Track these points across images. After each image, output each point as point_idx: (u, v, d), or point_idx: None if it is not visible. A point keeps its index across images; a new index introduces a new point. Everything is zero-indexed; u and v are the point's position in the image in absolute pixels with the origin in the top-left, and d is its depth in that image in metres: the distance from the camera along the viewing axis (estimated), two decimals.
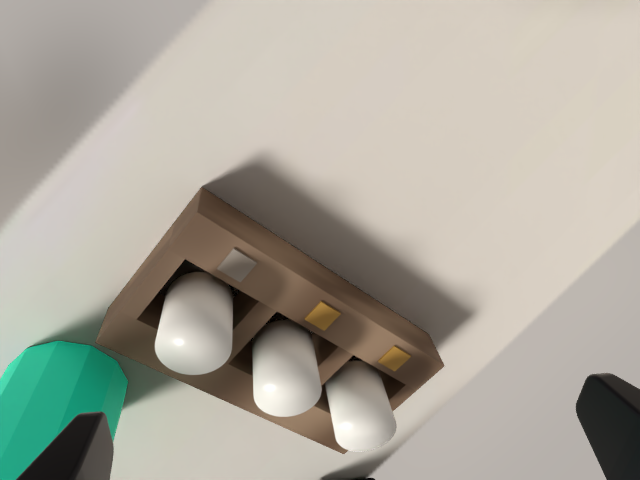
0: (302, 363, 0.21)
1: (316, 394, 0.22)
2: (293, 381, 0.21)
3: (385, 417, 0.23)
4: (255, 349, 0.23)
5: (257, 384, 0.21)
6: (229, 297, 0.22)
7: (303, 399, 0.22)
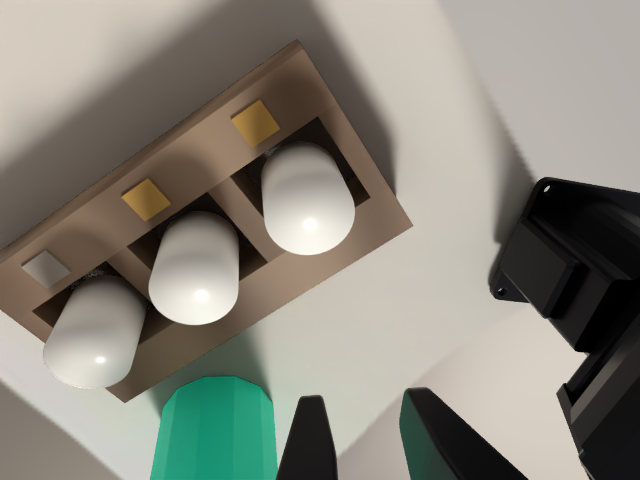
0: (159, 260, 0.17)
1: (209, 260, 0.16)
2: (176, 281, 0.17)
3: (293, 185, 0.15)
4: None
5: (166, 316, 0.17)
6: (93, 286, 0.19)
7: (213, 276, 0.17)
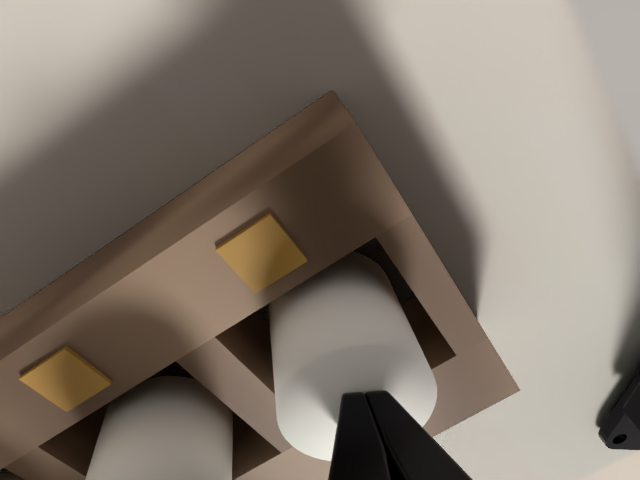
0: None
1: None
2: None
3: (331, 365, 0.08)
4: None
5: None
6: None
7: None
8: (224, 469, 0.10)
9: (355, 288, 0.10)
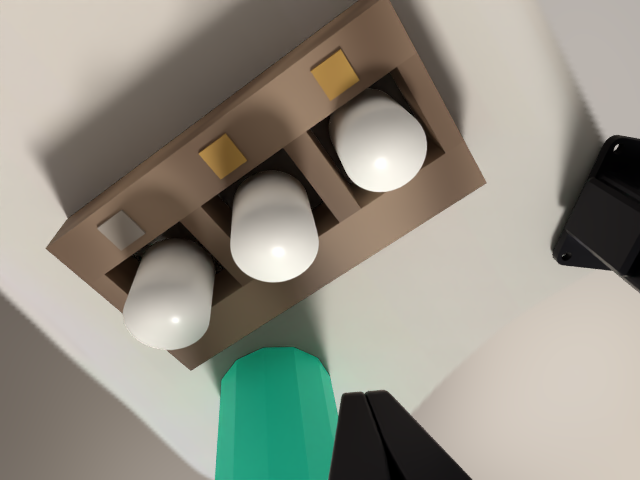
0: (240, 214, 0.16)
1: (292, 214, 0.16)
2: (257, 235, 0.16)
3: (371, 121, 0.16)
4: None
5: (246, 273, 0.17)
6: (166, 248, 0.19)
7: (295, 231, 0.16)
8: (311, 211, 0.18)
9: (381, 97, 0.18)
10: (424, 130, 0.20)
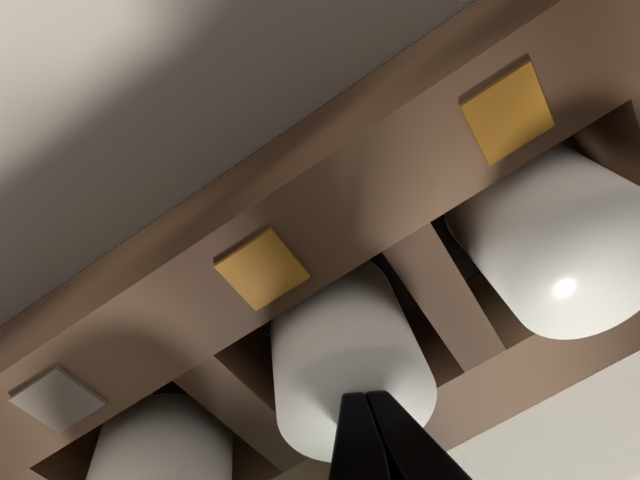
0: (297, 356, 0.09)
1: (396, 358, 0.09)
2: (328, 395, 0.09)
3: (584, 214, 0.08)
4: None
5: (300, 451, 0.09)
6: (146, 423, 0.10)
7: (397, 385, 0.09)
8: (412, 333, 0.10)
9: (572, 154, 0.09)
10: None
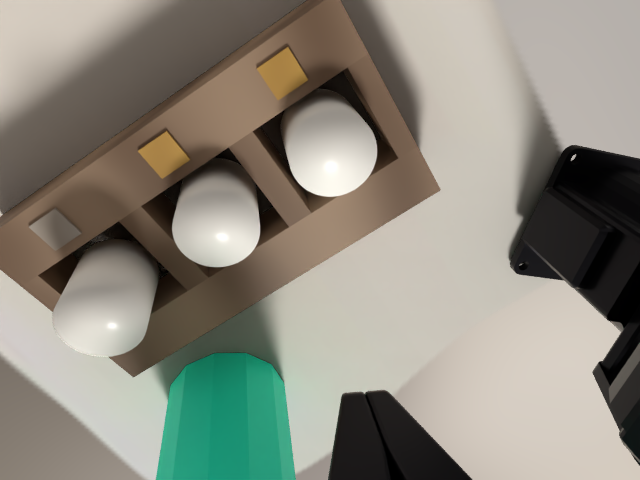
0: (183, 199, 0.17)
1: (233, 200, 0.17)
2: (199, 220, 0.17)
3: (318, 123, 0.16)
4: None
5: (188, 257, 0.17)
6: (105, 249, 0.18)
7: (236, 217, 0.17)
8: (255, 199, 0.18)
9: (333, 98, 0.17)
10: (380, 134, 0.20)
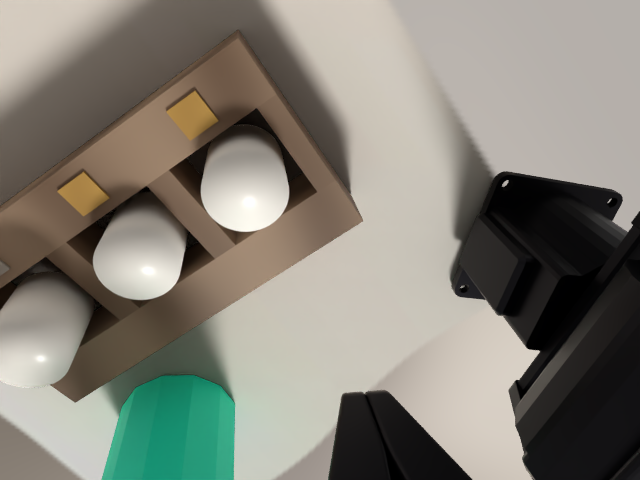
0: (103, 236, 0.17)
1: (150, 236, 0.17)
2: (118, 256, 0.17)
3: (227, 163, 0.16)
4: None
5: (112, 291, 0.18)
6: (35, 283, 0.19)
7: (155, 252, 0.17)
8: (179, 233, 0.19)
9: (248, 136, 0.18)
10: None
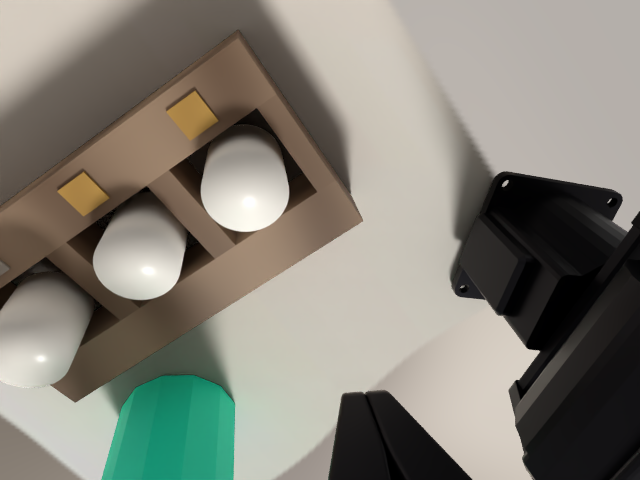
0: (103, 236, 0.17)
1: (150, 236, 0.17)
2: (118, 256, 0.17)
3: (227, 163, 0.16)
4: None
5: (112, 291, 0.18)
6: (35, 283, 0.19)
7: (155, 252, 0.17)
8: (179, 233, 0.19)
9: (248, 136, 0.18)
10: None
